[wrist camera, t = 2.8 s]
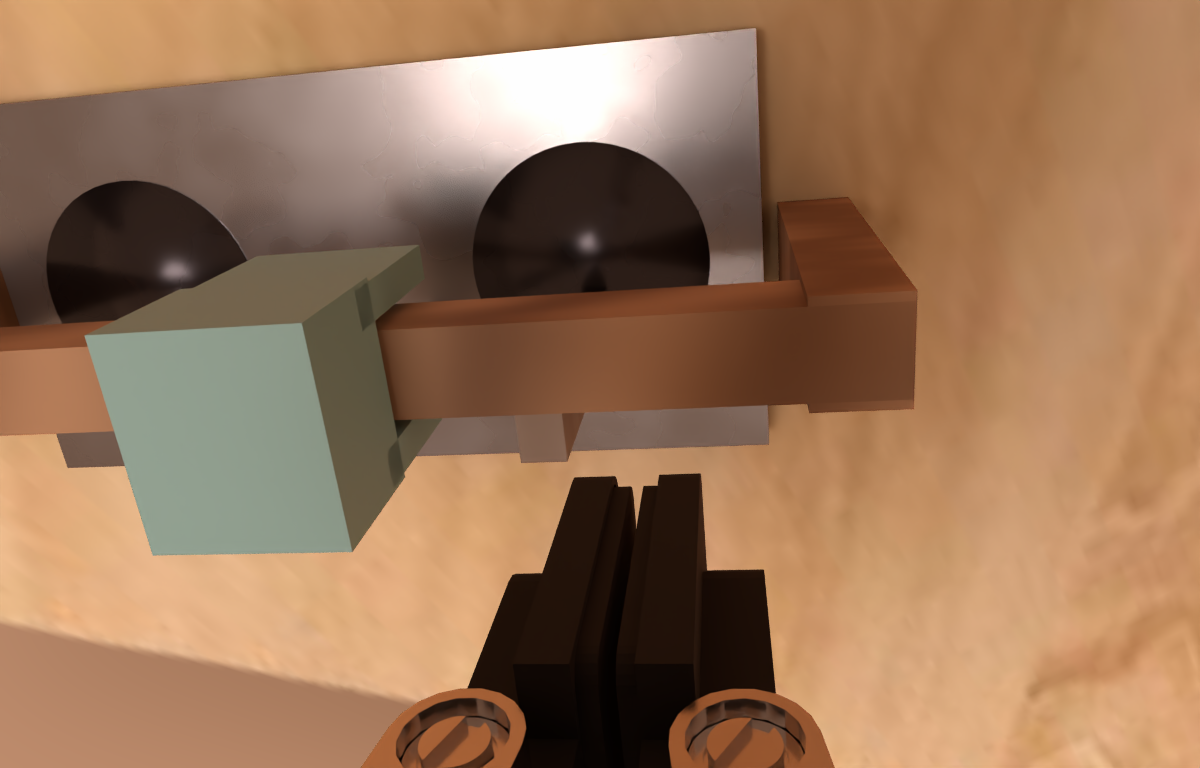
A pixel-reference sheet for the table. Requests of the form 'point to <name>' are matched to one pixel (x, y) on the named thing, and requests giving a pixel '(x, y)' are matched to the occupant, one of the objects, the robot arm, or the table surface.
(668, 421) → the hole plate
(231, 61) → the table surface
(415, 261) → the slider block
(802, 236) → the beam
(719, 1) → the table surface
